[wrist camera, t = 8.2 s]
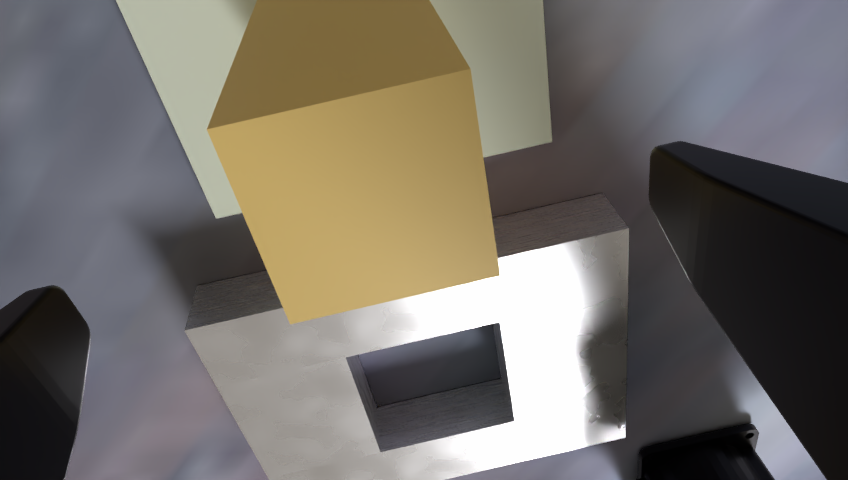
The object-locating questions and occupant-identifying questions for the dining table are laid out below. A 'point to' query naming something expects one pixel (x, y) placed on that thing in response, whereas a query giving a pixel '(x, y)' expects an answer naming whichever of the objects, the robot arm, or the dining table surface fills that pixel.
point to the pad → (224, 28)
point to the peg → (355, 153)
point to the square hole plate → (425, 318)
